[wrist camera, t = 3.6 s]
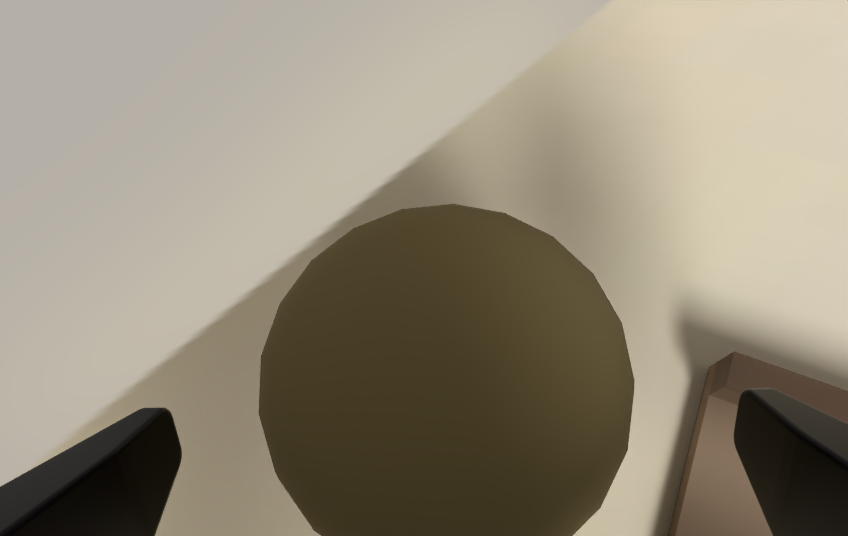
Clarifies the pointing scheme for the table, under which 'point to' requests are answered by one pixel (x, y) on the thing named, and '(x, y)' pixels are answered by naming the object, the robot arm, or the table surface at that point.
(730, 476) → the channel board
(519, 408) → the olive pawn shaped piece
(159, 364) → the table surface
